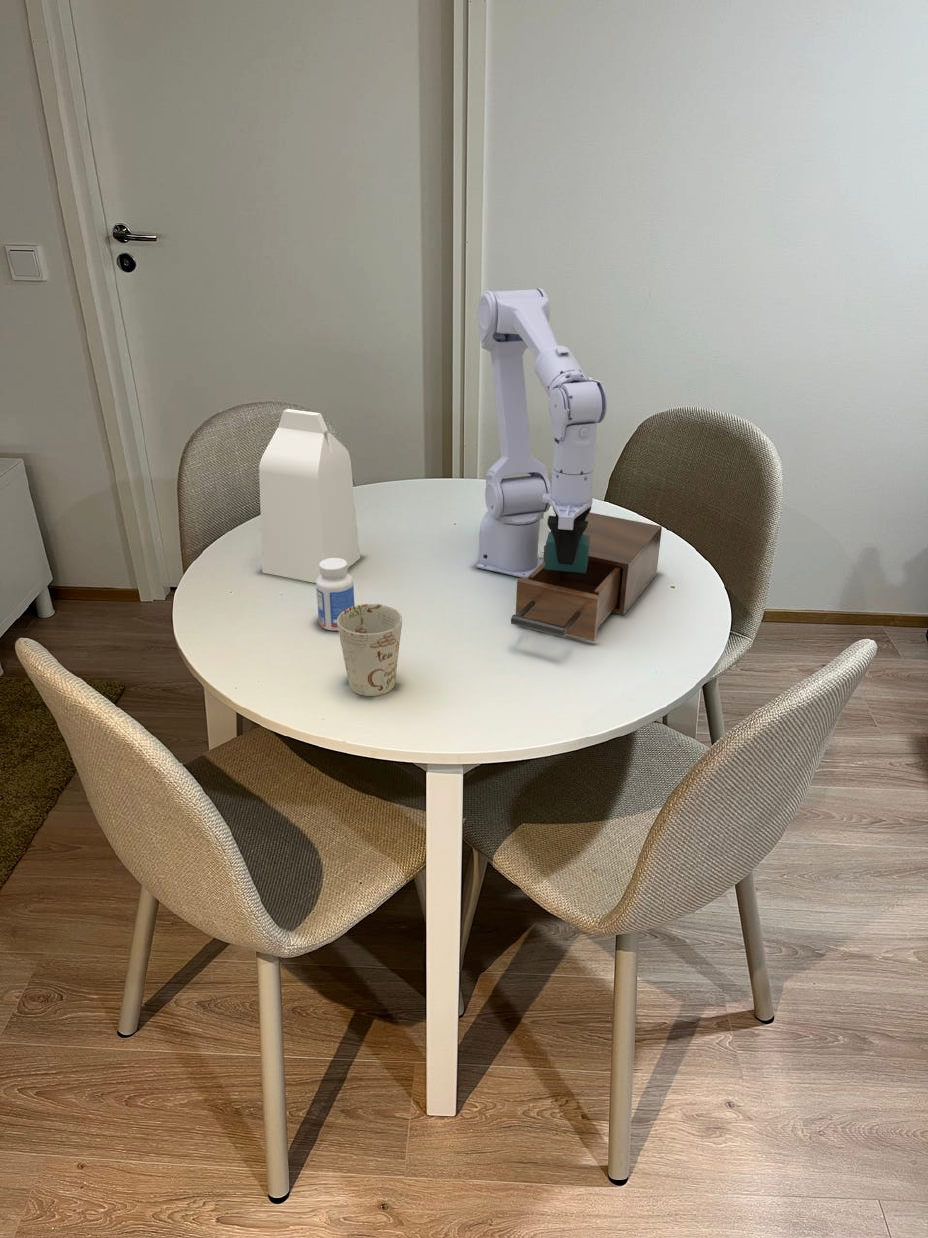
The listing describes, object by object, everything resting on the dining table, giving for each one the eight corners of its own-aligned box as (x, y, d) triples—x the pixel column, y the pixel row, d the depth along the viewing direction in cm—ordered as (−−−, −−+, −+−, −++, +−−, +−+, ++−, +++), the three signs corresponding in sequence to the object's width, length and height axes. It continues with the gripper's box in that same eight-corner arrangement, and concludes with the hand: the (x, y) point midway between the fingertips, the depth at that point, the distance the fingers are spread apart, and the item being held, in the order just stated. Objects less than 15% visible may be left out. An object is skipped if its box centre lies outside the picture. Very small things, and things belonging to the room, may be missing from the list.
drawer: (576, 662, 135) (580, 618, 131) (495, 641, 140) (496, 598, 136) (629, 598, 152) (633, 558, 149) (555, 581, 157) (557, 542, 154)
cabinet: (623, 615, 149) (628, 564, 145) (541, 596, 154) (543, 546, 150) (656, 574, 162) (662, 526, 158) (579, 557, 167) (583, 510, 163)
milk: (262, 572, 161) (248, 417, 149) (298, 546, 170) (287, 398, 158) (327, 585, 157) (317, 426, 145) (360, 557, 166) (354, 407, 154)
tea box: (544, 569, 143) (546, 541, 141) (547, 558, 146) (549, 531, 144) (585, 573, 142) (588, 545, 140) (588, 562, 145) (590, 534, 143)
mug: (354, 707, 126) (351, 639, 121) (320, 662, 135) (316, 598, 131) (413, 692, 129) (412, 625, 124) (376, 649, 139) (374, 586, 134)
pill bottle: (361, 618, 147) (359, 558, 143) (346, 634, 143) (343, 573, 138) (328, 612, 149) (324, 553, 144) (312, 628, 144) (308, 567, 140)
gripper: (550, 450, 144) (545, 535, 150) (538, 483, 131) (533, 575, 138) (598, 453, 143) (591, 539, 149) (591, 487, 130) (583, 579, 137)
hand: (567, 556), depth 143 cm, fingers closed on tea box, 4 cm apart
